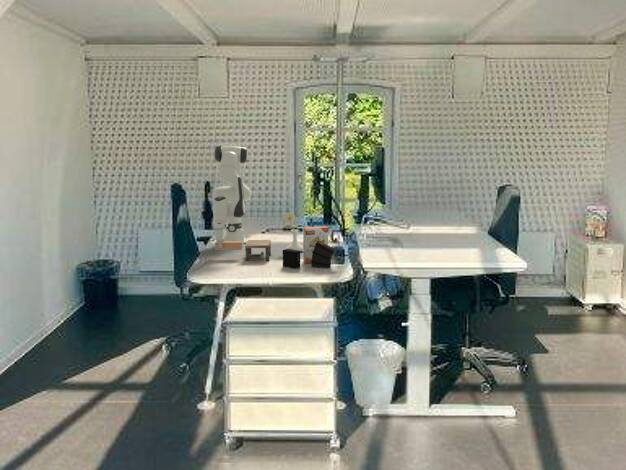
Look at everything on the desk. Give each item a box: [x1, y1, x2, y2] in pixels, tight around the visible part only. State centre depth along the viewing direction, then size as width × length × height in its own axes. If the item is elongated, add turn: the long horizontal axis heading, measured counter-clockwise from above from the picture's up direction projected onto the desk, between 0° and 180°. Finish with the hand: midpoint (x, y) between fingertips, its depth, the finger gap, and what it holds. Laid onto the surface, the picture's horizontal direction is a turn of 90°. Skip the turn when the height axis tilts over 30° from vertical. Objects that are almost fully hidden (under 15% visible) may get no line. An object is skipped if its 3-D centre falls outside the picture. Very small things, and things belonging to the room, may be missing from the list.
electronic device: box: [282, 248, 301, 270], centre depth 391 cm, size 4×10×10 cm, turn 49°
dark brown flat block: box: [310, 241, 336, 269], centre depth 390 cm, size 4×13×15 cm, turn 75°
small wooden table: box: [244, 239, 272, 262], centre depth 416 cm, size 19×14×10 cm
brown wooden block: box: [214, 240, 244, 251], centre depth 416 cm, size 6×16×4 cm, turn 90°
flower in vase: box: [282, 212, 303, 252], centre depth 434 cm, size 13×11×25 cm
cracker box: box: [302, 225, 329, 264], centre depth 403 cm, size 14×6×21 cm, turn 105°
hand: (221, 246), depth 416 cm, fingers closed on brown wooden block, 6 cm apart
